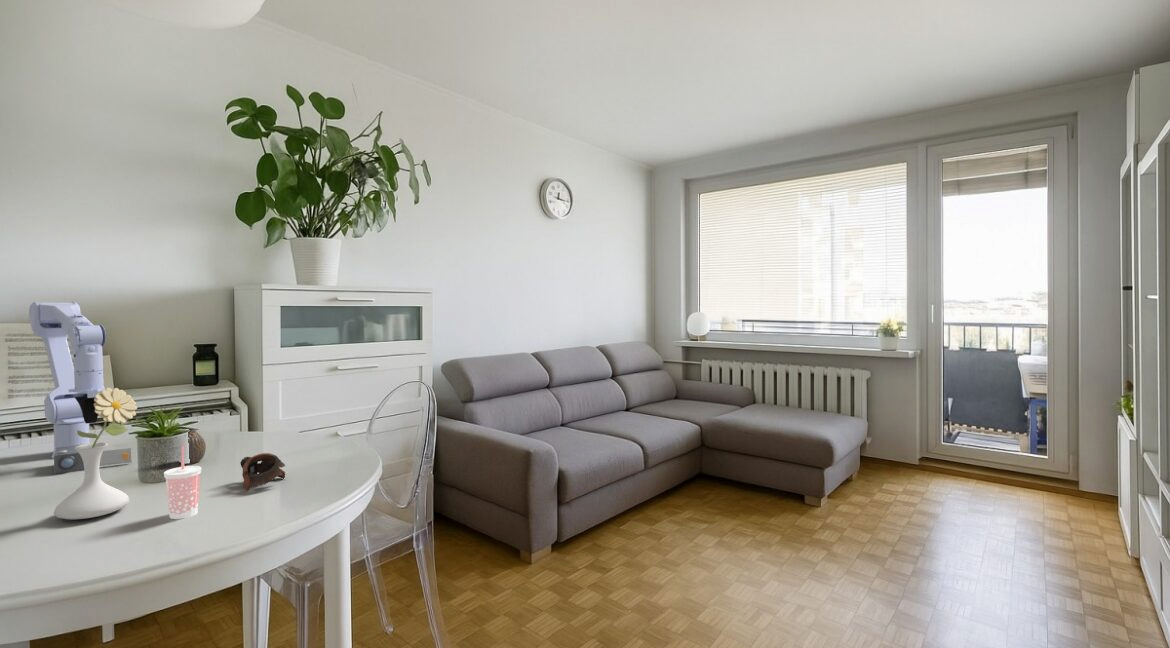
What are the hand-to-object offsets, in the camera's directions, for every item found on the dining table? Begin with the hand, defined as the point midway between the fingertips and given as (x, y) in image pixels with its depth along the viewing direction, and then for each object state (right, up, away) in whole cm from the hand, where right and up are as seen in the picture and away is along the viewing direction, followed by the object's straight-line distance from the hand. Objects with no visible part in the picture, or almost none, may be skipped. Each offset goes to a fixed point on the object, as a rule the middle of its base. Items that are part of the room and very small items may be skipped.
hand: (90, 422), depth 146 cm
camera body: (-1, -11, -4) cm, 11 cm away
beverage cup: (+50, -12, -35) cm, 62 cm away
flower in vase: (+32, -12, -34) cm, 48 cm away
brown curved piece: (+54, -12, -16) cm, 58 cm away
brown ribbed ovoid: (+25, -11, +1) cm, 28 cm away
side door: (+8, -10, -3) cm, 13 cm away
